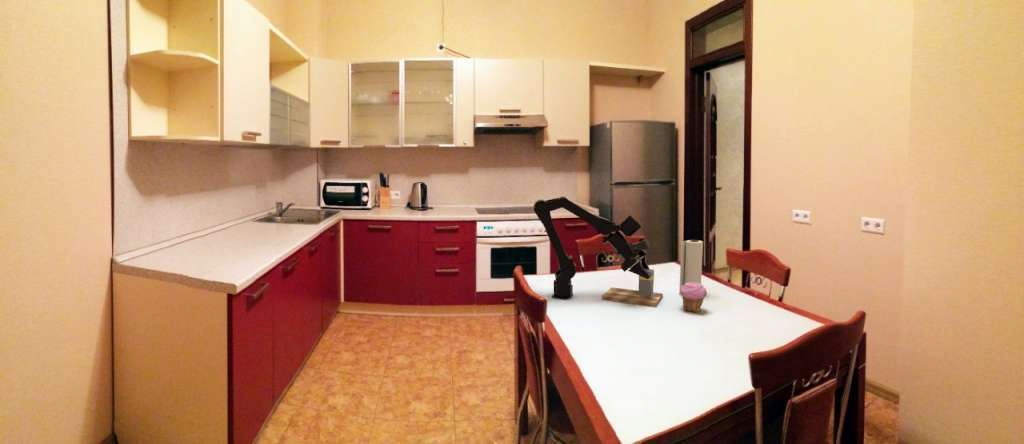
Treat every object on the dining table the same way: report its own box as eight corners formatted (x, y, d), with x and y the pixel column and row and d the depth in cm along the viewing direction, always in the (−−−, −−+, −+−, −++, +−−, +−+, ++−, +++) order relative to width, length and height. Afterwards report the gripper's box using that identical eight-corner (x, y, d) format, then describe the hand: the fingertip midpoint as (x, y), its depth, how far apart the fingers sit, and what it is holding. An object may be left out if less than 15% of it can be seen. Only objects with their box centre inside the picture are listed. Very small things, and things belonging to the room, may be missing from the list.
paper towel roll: (702, 294, 179) (704, 240, 176) (698, 298, 174) (701, 242, 171) (682, 291, 183) (684, 238, 180) (679, 295, 178) (681, 241, 175)
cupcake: (674, 310, 160) (676, 282, 159) (685, 304, 166) (686, 277, 165) (700, 316, 154) (701, 287, 153) (710, 309, 160) (711, 282, 159)
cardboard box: (601, 299, 173) (601, 295, 173) (611, 290, 184) (611, 287, 184) (655, 307, 164) (656, 303, 163) (662, 297, 175) (662, 293, 175)
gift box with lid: (638, 294, 170) (638, 270, 169) (641, 291, 174) (641, 268, 173) (650, 296, 168) (651, 272, 167) (653, 292, 172) (654, 269, 171)
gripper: (630, 235, 162) (661, 268, 158) (642, 228, 178) (671, 258, 174) (608, 255, 167) (638, 288, 163) (622, 246, 183) (649, 276, 179)
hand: (650, 276), depth 170 cm, fingers closed on gift box with lid, 5 cm apart
